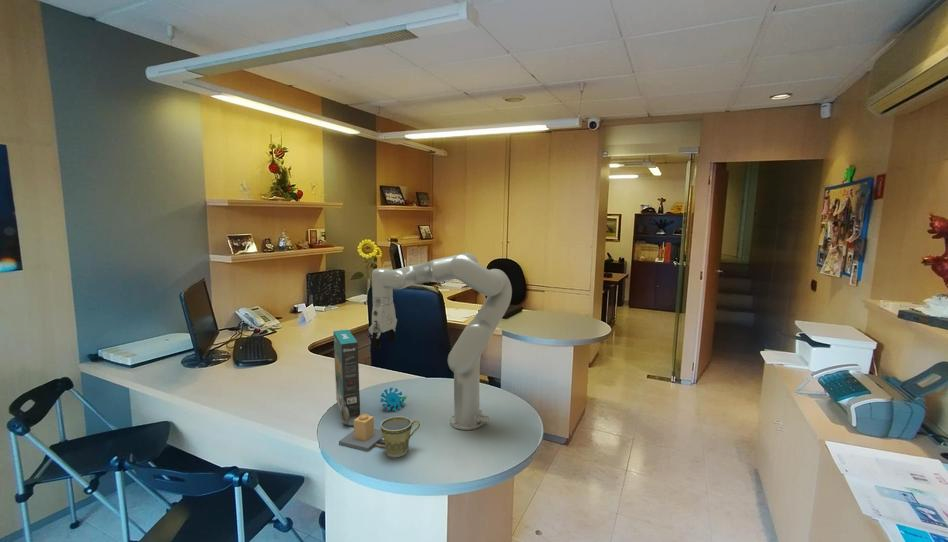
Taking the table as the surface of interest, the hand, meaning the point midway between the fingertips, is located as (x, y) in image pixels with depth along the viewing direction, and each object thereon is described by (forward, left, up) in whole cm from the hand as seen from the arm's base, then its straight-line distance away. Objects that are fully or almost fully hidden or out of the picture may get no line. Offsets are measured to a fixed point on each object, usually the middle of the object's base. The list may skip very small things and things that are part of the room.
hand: (384, 344), depth 162 cm
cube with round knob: (-4, +19, -27) cm, 33 cm away
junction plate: (-6, +19, -28) cm, 35 cm away
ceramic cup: (-20, +21, -28) cm, 40 cm away
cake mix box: (+18, +1, -28) cm, 34 cm away
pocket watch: (+8, +11, -28) cm, 32 cm away
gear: (+1, -7, -29) cm, 29 cm away
